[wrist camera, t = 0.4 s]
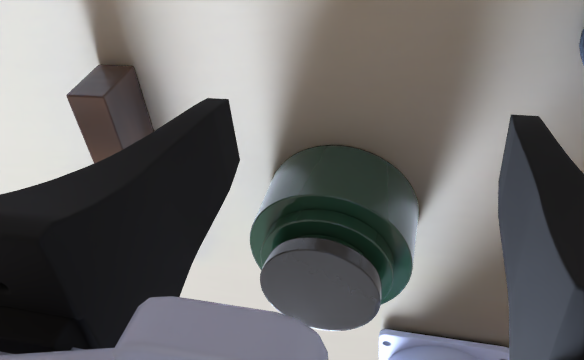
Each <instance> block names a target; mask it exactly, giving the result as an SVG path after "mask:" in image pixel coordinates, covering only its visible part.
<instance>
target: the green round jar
mask: <svg viewBox="0 0 584 360" xmlns="http://www.w3.org/2000/svg"><path fill="white" fill-rule="evenodd" d="M418 217H419V206H418V201H417V197H416V195H415V192H414V190H413V188H412V187H411V185H410V183H409V182H408V181H407V179H406V178H405V177H404V175H403V174H402V173H401V172H400V171H399V170H397V169H396V168H395V167H394V166H393V165H391V164H390V163H389V162H387V161H385V160H384V159H382V158H380V157H378V156H376V155H374V154H372V153H370V152H367V151H364V150H361V149H357V148H352V147H347V146H335V145H328V146H318V147H314V148H309V149H306V150H304V151H301V152H299V153H297V154H295V155H293V156H291V157H290V158H289V159H287V160H286V161H285V162H284V163H283V164H282V165H281V166H280V167H279V168H278V170H277V171H276V173H275V175H274V177H273V179H272V181H271V184H270V186H269V188H268V190H267V193H266V195H265V197H264V200H263V202H262V204H261V207H260V209H259V211H258V213H257V216H256V218H255V220H254V223H253V225H252V228H251V232H250V245H251V250H252V254H253V256H254V259H255V261H256V263H257V264H258V266H259V267H260V269H261V270H262V271H261V274H260V283H261V288H262V291H263V293H264V295H265V296H266V298H267V299H268V301H269V302H270V303H271V304H272V305H273V306H274V307H275V308H276V309H277V310H278V311H279V312H281V313H282V314H283V315H287V316H290V317H293V318H296V319H299V320H300V321H302V322H303V323H304V324H306V325H307V326H308V327H312V328H316V329H321V330H329V331H344V330H351V329H355V328H358V327H361V326H363V325H365V324H367V323H368V322H369V321H371V320H372V319H373V318H374V317H375V316H376V314H377V312H378V311H379V308H380V305H381V304H383V303H386V302H388V301H390V300H391V299H393V298H394V297H396V296H397V295H398V294H399V293H400V292H401V291H402V290H403V289H404V288H405V287H406V285H407V283H408V282H409V280H410V277H411V274H412V268H413V260H414V251H415V243H416V234H417V225H418Z"/></svg>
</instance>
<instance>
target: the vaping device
mask: <svg viewBox="0 0 584 360" xmlns="http://www.w3.org/2000/svg"><path fill="white" fill-rule="evenodd" d="M579 47H580V55H581V58H582V62H583V65H584V29H583V31H582V34H581V39H580V44H579Z"/></svg>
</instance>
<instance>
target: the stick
mask: <svg viewBox="0 0 584 360" xmlns="http://www.w3.org/2000/svg"><path fill="white" fill-rule="evenodd" d="M67 98H68V101H69V103H70V106H71V108H72V111H73V113H74V116H75V118H76V120H77V123H78V125H79V128H80V130H81V133H82V135H83V137H84V140H85V142H86V145H87V147H88V150H89V152H90V155H91V157H92V159H93V162H94V163H97V162H99V161H101V160H103V159H105V158H107V157H109V156H111V155H113V154H115V153H117V152H119V151H121V150H123V149H125V148H127V147H128V146H130V145H132V144H133V143H135V142H137V141H139V140H140V139H142V138H144V137H145V136H147V135H149V134H151V133H152V132H154V131H153V128H152V124H151V121H150V118H149V115H148V112H147V108H146V105H145V102H144V99H143V95H142V92H141V89H140V86H139V83H138V79H137V76H136V73H135V70H134V67H133V66H116V65H98V66H97V67H96V68H95V69H94V70H93V71H92V72H91V73H90V74H88V75H87V76H86V77H85V78H84V79H83V80H82V81H81V82H80V83H79V84H78V85H77V86H76V87H75V88H74V89H72V90H71V91H70V92H69V93H68V94H67ZM192 263H193V262H192Z"/></svg>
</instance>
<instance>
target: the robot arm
mask: <svg viewBox="0 0 584 360" xmlns="http://www.w3.org/2000/svg"><path fill="white" fill-rule="evenodd" d="M239 161H240V158H239V153H238V148H237V142H236V137H235V132H234V126H233V121H232V116H231V111H230V105H229V100H228V99H212V98H207V99H205V100H203V101H201V102H200V103H198V104H196V105H195V106H193V107H191V108H190V109H188V110H187V111H185V112H184V113H182V114H180V115H179V116H177V117H176V118H174V119H173V120H171V121H170V122H168V123H166V124H165V125H163V126H162V127H160V128H159V129H157V130H155V131H154V132H152V133H151V134H149V135H147V136H145V137H144V138H142V139H140V140H139V141H137V142H135V143H133V144H132V145H130V146H128V147H127V148H125V149H123V150H121V151H119V152H117V153H115V154H113V155H111V156H109V157H107V158H105V159H103V160H101V161H99V162H97V163H94V164H92V165H90V166H88V167H85V168H83V169H80V170H77V171H75V172H72V173H70V174H67V175H64V176H62V177H59V178H57V179H54V180H51V181H48V182H45V183H41V184H38V185H35V186H31V187H28V188H25V189H21V190H17V191H13V192H10V193H5V194H1V195H0V360H328V352H327V350H326V348H325V346H324V344H323V342H322V340H321V338H320V336H319V335H318V333H317V332H315V331H314V330H313V329H311V328H310V327H308V326H307V325H306V324H304V323H303V322H302V321H300V320H299V319H296V318H293V317H290V316H287V315H283V314H280V313H277V312H272V311H266V310H259V309H253V308H246V307H240V306H233V305H227V304H220V303H214V302H207V301H201V300H194V299H188V298H181V297H180V294H181V291H182V288H183V286H184V283H185V280H186V278H187V275H188V273H189V270H190V267H191V265H192V262H193V260H194V258H195V256H196V254H197V252H198V250H199V248H200V246H201V244H202V242H203V240H204V238H205V236H206V234H207V232H208V231H209V229H210V227H211V225H212V223H213V221H214V219H215V217H216V215H217V214H218V212H219V210H220V208H221V206H222V204H223V202H224V200H225V198H226V196H227V194H228V192H229V190H230V188H231V185H232V182H233V179H234V177H235V173H236V170H237V167H238V164H239ZM498 218H499V226H500V234H501V242H502V250H503V257H504V265H505V273H506V280H507V288H508V300H509V348H507V347H503V346H496V345H489V344H483V343H476V342H469V341H462V340H456V339H449V338H442V337H435V336H429V335H422V334H415V333H409V332H402V331H395V330H388V329H384V330H381V331H380V334H379V360H584V174H583V173H582V172H581V171H580V169H579V168H578V167H577V166H576V165H575V163H574V162H573V161H572V160H571V159H570V157H569V156H568V155H567V154H566V152H565V151H564V150H563V149H562V147H561V146H560V145H559V143H558V142H557V140H556V139H555V138H554V136H553V135H552V134H551V132H550V131H549V129H548V128H547V126H546V125H545V124H544V122H543V121H542V120H541V118H540V117H539V116H526V115H511V118H510V123H509V128H508V134H507V139H506V145H505V150H504V155H503V161H502V166H501V172H500V177H499V192H498Z"/></svg>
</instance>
